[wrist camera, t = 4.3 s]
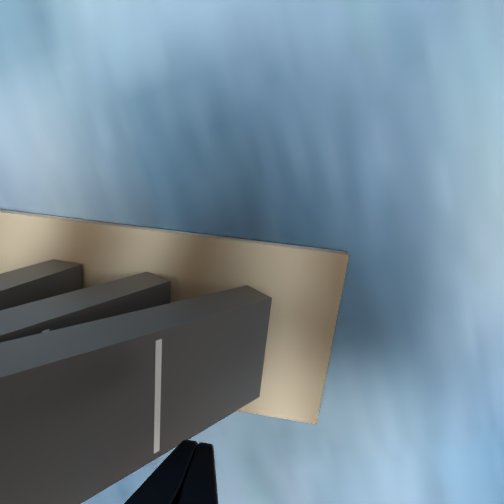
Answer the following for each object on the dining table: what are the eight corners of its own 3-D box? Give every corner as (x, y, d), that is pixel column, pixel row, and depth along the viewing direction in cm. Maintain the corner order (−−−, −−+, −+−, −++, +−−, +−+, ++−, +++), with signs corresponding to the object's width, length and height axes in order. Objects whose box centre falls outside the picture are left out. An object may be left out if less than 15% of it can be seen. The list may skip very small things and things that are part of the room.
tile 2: (171, 280, 13) (-307, 435, 5) (168, 376, 14) (-212, 632, 6) (146, 271, 14) (-297, 388, 5) (146, 362, 15) (-215, 570, 7)
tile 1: (272, 297, 12) (-89, 404, 6) (259, 397, 13) (-48, 580, 7) (247, 285, 13) (-79, 360, 7) (237, 377, 15) (-44, 517, 8)
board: (346, 251, 13) (349, 255, 13) (315, 414, 15) (316, 424, 15) (-159, 190, 15) (-176, 190, 15) (-120, 342, 17) (-134, 347, 17)
